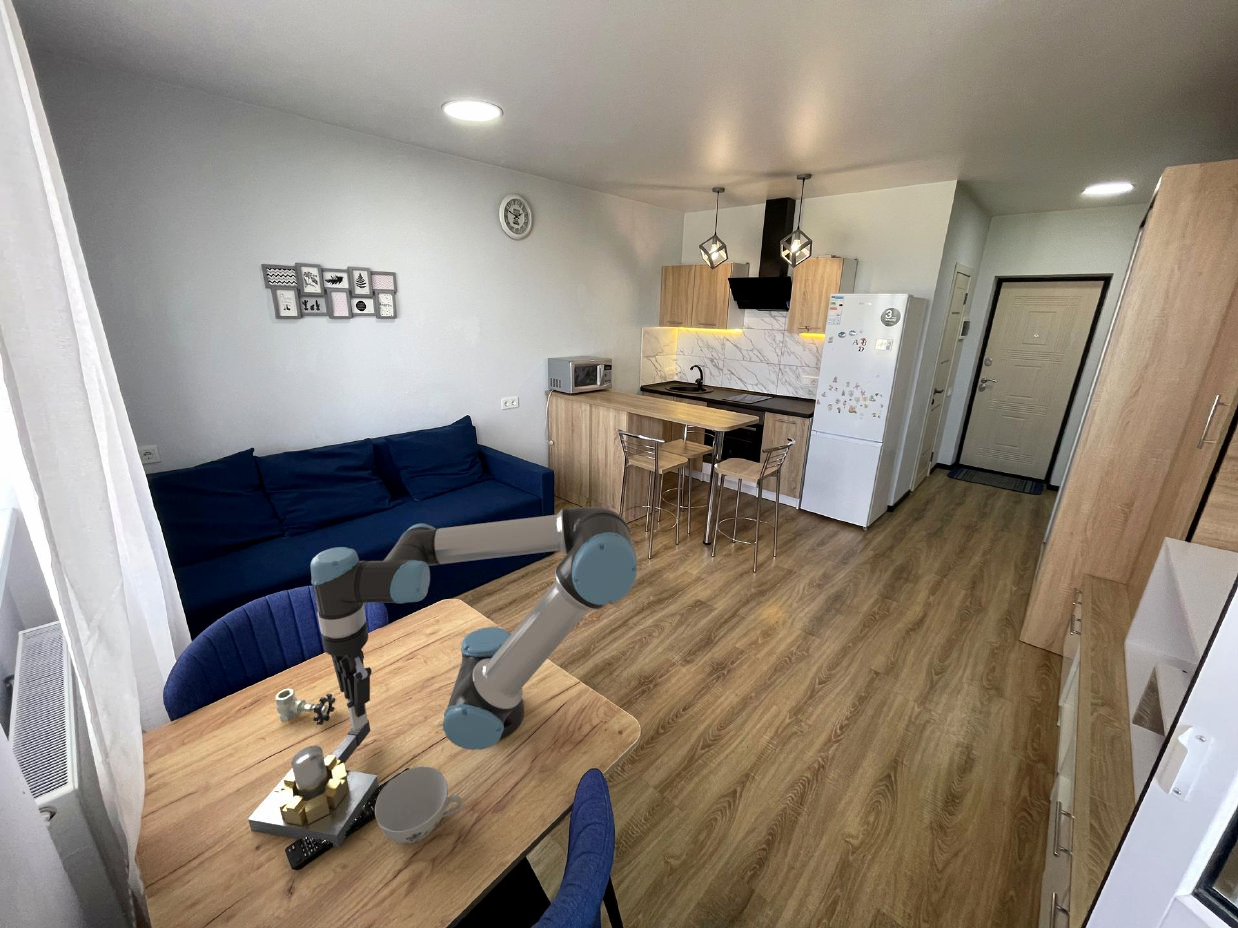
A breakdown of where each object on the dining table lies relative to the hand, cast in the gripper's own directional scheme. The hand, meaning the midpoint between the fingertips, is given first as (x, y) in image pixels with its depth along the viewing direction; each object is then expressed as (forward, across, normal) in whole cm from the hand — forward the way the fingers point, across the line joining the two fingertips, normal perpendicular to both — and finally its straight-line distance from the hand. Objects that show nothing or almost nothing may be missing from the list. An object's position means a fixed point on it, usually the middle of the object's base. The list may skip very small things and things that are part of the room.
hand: (359, 724), depth 99 cm
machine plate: (+13, 0, +10) cm, 16 cm away
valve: (+13, +25, +2) cm, 29 cm away
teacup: (+13, -19, -1) cm, 23 cm away
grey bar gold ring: (+10, +2, +5) cm, 11 cm away
